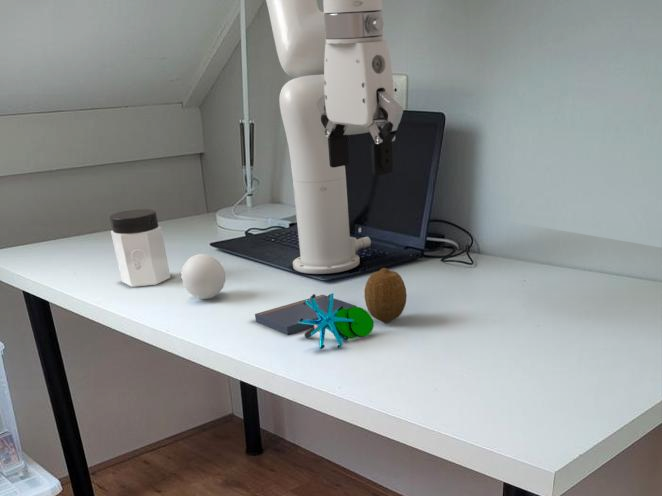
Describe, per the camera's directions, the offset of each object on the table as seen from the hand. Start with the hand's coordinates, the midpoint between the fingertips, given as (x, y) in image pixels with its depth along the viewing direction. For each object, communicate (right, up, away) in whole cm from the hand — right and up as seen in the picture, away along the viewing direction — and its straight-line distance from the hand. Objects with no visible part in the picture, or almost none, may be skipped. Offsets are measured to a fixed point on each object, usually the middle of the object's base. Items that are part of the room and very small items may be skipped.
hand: (360, 169), depth 106 cm
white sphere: (-27, -13, +23) cm, 38 cm away
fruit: (+4, -21, +6) cm, 22 cm away
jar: (-40, -7, +34) cm, 53 cm away
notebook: (-8, -19, +10) cm, 23 cm away
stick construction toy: (-4, -24, +1) cm, 24 cm away
